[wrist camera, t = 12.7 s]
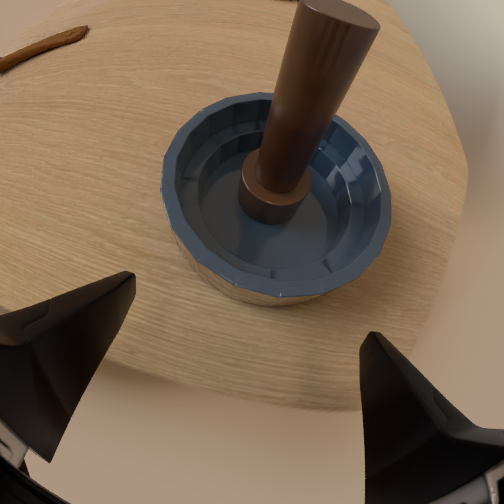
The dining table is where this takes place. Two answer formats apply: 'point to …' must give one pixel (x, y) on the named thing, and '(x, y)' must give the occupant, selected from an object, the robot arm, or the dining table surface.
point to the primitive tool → (42, 46)
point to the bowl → (272, 235)
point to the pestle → (304, 105)
